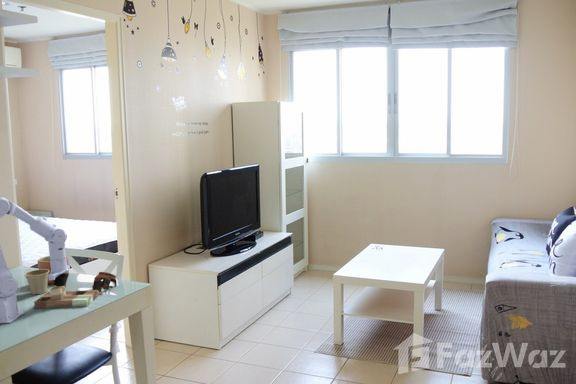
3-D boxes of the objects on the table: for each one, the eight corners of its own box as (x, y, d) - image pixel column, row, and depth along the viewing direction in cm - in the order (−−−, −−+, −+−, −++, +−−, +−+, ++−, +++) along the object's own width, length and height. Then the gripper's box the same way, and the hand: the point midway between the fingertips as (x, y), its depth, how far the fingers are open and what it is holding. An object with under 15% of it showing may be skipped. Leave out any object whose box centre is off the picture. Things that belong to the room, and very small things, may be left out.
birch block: (61, 299, 202) (60, 289, 201) (51, 299, 202) (50, 289, 201) (66, 295, 206) (64, 285, 205) (55, 295, 206) (54, 286, 205)
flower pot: (41, 296, 215) (39, 275, 214) (21, 295, 217) (19, 275, 216) (56, 289, 224) (54, 269, 223) (36, 288, 226) (34, 269, 225)
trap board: (87, 306, 200) (86, 299, 200) (34, 308, 201) (34, 301, 200) (98, 296, 212) (98, 289, 212) (49, 297, 213) (48, 291, 212)
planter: (48, 278, 242) (45, 255, 241) (74, 277, 241) (72, 254, 240) (34, 286, 230) (31, 262, 228) (62, 285, 229) (59, 261, 228)
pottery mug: (88, 290, 223) (94, 271, 226) (109, 296, 227) (115, 277, 230) (95, 289, 213) (101, 269, 216) (117, 295, 217) (124, 275, 220)
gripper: (60, 263, 197) (63, 298, 199) (76, 253, 212) (79, 286, 214) (41, 264, 198) (45, 299, 199) (58, 254, 212) (62, 287, 214)
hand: (61, 292), depth 206 cm, fingers closed
